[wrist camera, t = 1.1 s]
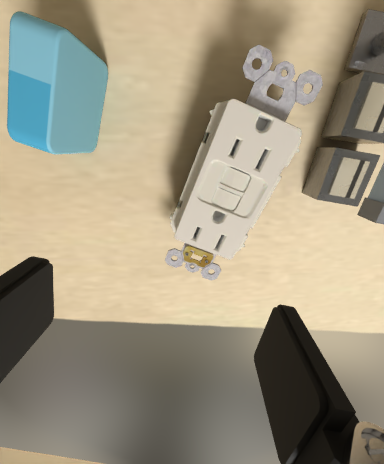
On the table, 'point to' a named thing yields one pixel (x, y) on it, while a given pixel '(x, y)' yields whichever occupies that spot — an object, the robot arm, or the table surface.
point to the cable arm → (375, 201)
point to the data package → (53, 88)
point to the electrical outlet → (238, 165)
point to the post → (368, 45)
